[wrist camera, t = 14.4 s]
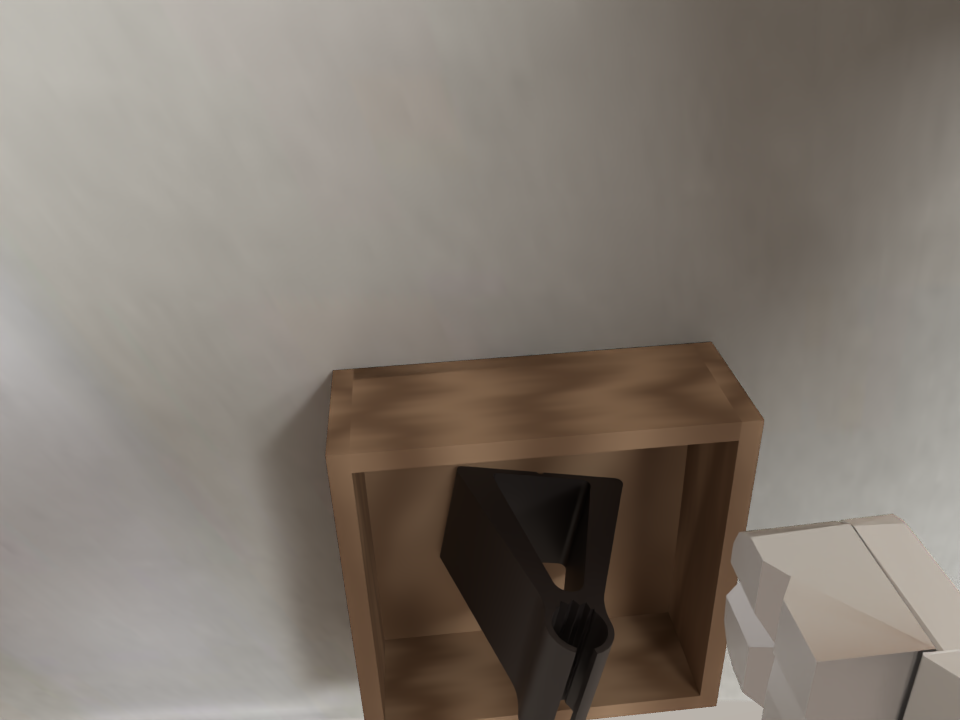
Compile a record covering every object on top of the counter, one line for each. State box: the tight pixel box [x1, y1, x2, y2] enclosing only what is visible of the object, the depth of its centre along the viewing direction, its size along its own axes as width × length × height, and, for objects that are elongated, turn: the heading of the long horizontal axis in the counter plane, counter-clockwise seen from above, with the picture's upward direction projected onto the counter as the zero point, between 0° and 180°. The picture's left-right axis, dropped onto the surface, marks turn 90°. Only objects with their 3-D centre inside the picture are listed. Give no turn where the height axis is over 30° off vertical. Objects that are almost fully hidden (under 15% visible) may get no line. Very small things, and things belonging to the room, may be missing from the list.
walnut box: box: [325, 342, 764, 720], centre depth 45 cm, size 19×19×7 cm
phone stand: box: [440, 466, 623, 720], centre depth 42 cm, size 9×6×12 cm, turn 80°
